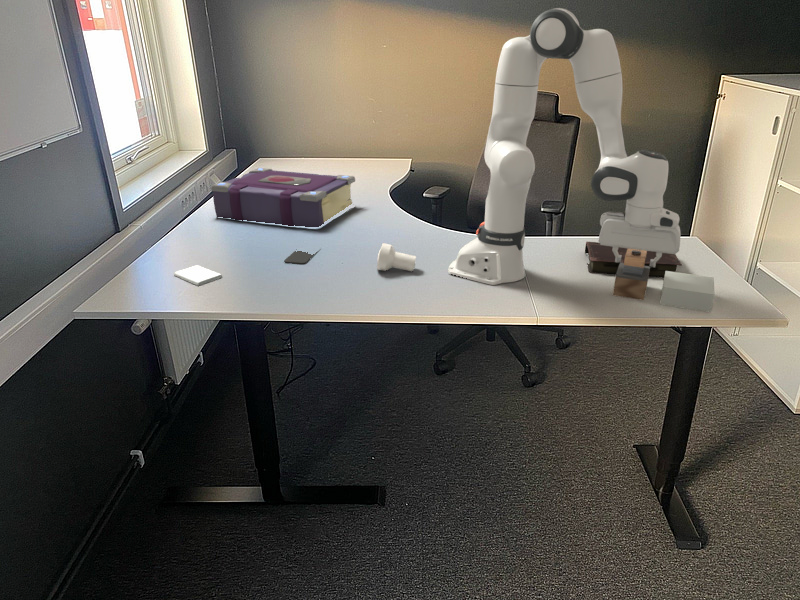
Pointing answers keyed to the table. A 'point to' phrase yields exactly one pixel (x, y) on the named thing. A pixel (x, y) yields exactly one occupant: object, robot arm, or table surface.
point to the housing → (634, 262)
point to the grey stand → (688, 291)
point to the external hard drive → (197, 275)
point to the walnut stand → (631, 284)
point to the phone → (298, 257)
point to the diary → (605, 259)
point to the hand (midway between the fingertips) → (634, 264)
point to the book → (283, 197)
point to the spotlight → (394, 259)
